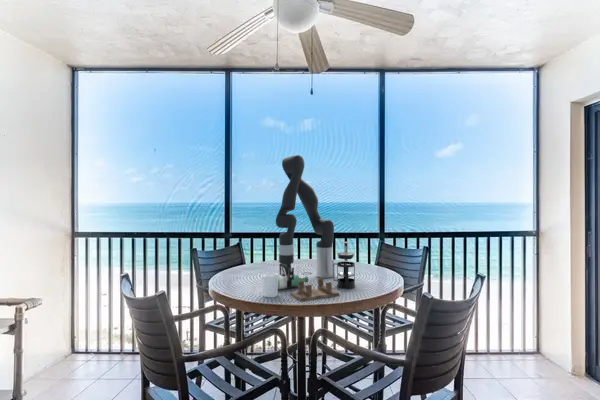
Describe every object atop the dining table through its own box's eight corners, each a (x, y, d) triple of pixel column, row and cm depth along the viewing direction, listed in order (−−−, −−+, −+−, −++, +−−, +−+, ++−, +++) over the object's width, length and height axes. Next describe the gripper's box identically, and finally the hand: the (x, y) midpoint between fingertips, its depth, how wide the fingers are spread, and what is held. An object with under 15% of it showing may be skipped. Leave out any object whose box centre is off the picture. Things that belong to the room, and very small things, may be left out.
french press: (355, 284, 174) (355, 240, 174) (357, 288, 165) (357, 243, 165) (333, 283, 175) (332, 240, 175) (334, 288, 166) (333, 243, 166)
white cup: (262, 293, 158) (262, 272, 158) (278, 292, 159) (278, 272, 159) (261, 298, 150) (261, 276, 150) (279, 297, 151) (278, 275, 151)
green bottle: (304, 282, 176) (305, 271, 175) (309, 287, 170) (310, 275, 170) (269, 287, 168) (270, 275, 167) (273, 291, 162) (274, 280, 161)
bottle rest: (327, 289, 164) (327, 277, 164) (339, 295, 154) (339, 282, 154) (290, 294, 156) (290, 281, 156) (300, 301, 146) (300, 287, 146)
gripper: (298, 255, 162) (298, 288, 162) (287, 251, 175) (287, 282, 175) (284, 256, 159) (284, 290, 159) (274, 251, 172) (274, 283, 172)
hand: (286, 285), depth 167 cm, fingers open, 7 cm apart
